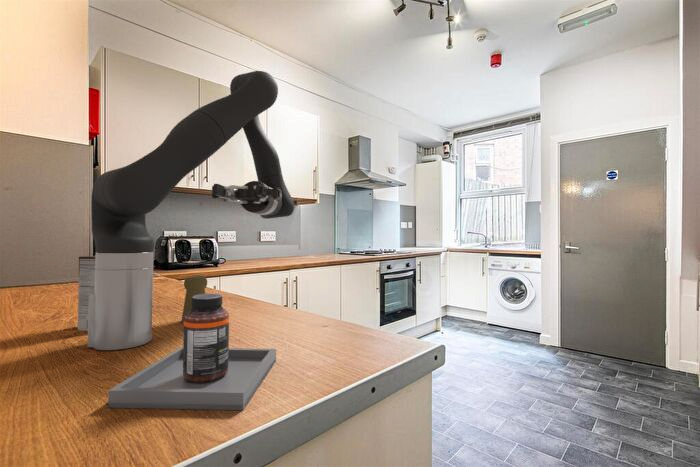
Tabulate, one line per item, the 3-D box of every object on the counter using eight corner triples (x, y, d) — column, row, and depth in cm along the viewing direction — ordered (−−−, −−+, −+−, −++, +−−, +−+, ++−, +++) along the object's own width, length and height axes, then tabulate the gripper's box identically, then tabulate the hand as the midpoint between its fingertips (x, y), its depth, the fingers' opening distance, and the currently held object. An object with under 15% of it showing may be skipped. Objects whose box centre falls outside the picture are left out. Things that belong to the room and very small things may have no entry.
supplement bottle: (191, 368, 50) (193, 292, 51) (232, 367, 51) (234, 292, 51) (175, 385, 44) (177, 299, 45) (221, 384, 45) (223, 299, 45)
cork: (201, 324, 79) (202, 277, 79) (176, 324, 79) (177, 276, 79) (212, 318, 85) (213, 274, 85) (188, 318, 85) (189, 274, 85)
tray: (108, 407, 40) (108, 390, 40) (179, 359, 56) (179, 347, 56) (243, 410, 39) (243, 393, 39) (275, 361, 55) (276, 348, 55)
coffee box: (113, 320, 81) (115, 254, 82) (136, 322, 80) (138, 254, 80) (76, 330, 72) (77, 255, 73) (100, 332, 71) (102, 256, 71)
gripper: (231, 183, 84) (201, 170, 67) (288, 184, 83) (272, 170, 67) (231, 213, 83) (200, 207, 67) (288, 214, 83) (271, 208, 67)
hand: (236, 189), depth 67 cm, fingers open, 8 cm apart
